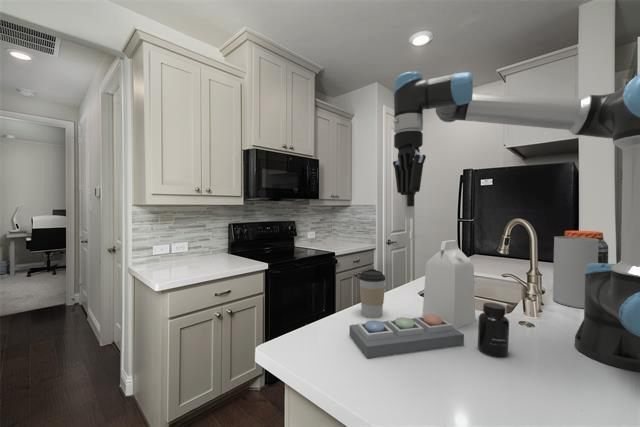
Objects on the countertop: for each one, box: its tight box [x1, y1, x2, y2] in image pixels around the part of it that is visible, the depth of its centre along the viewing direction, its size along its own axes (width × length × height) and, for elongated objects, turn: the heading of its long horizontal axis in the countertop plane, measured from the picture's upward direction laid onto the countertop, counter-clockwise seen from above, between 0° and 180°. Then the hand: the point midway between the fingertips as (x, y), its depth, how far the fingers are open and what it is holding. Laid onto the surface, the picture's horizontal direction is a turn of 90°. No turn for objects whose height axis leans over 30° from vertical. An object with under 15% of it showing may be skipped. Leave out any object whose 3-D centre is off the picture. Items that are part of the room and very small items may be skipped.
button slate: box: [365, 319, 384, 333], centre depth 78 cm, size 5×5×2 cm
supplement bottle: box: [477, 302, 510, 358], centre depth 74 cm, size 7×7×12 cm
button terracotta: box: [424, 315, 442, 326], centre depth 83 cm, size 5×5×2 cm
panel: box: [349, 316, 465, 360], centre depth 81 cm, size 13×28×4 cm, turn 104°
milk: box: [421, 239, 477, 330], centre depth 95 cm, size 12×12×26 cm
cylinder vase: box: [552, 235, 598, 310], centre depth 109 cm, size 12×12×25 cm
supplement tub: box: [564, 230, 609, 264], centre depth 126 cm, size 16×16×26 cm
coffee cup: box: [358, 268, 386, 319], centre depth 100 cm, size 9×9×15 cm
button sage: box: [394, 316, 414, 330], centre depth 81 cm, size 5×5×2 cm
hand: (408, 218), depth 80 cm, fingers closed
